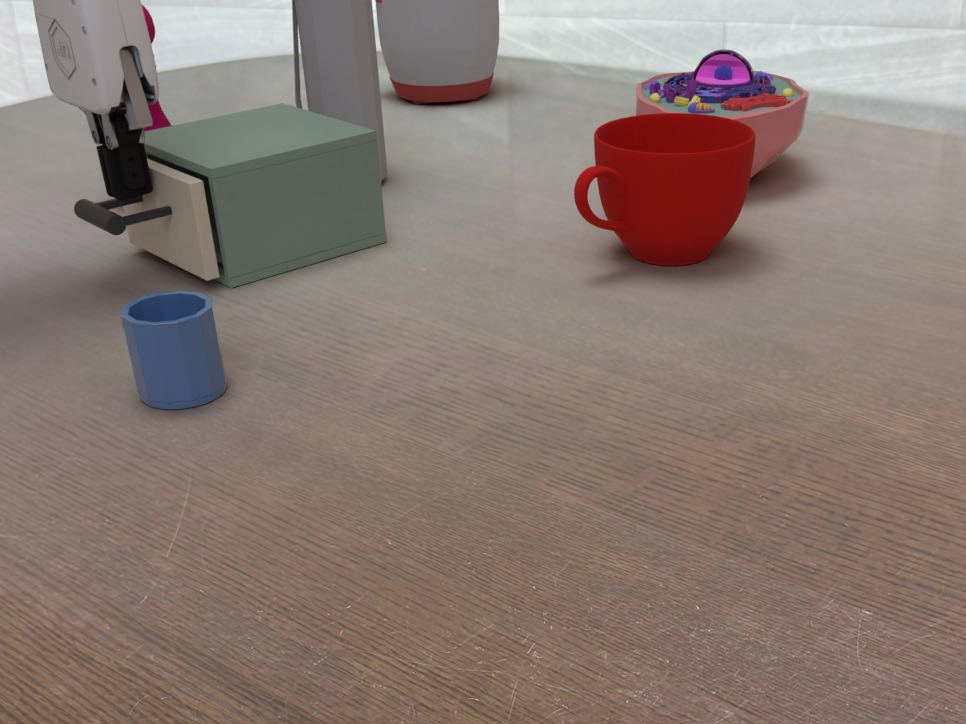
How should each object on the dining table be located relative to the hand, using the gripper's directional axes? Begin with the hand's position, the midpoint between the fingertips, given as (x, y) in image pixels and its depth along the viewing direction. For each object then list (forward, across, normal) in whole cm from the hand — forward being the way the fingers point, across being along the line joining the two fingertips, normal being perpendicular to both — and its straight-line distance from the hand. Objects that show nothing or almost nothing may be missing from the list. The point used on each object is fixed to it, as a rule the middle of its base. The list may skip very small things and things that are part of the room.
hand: (130, 194), depth 96 cm
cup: (+7, +22, -9) cm, 25 cm away
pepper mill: (+7, -19, +10) cm, 23 cm away
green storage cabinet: (+7, 0, +11) cm, 13 cm away
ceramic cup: (+8, +27, +32) cm, 43 cm away
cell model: (+8, +15, +54) cm, 57 cm away
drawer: (+6, 0, +6) cm, 9 cm away
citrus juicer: (+8, -34, +57) cm, 67 cm away
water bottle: (+7, -11, +27) cm, 30 cm away
